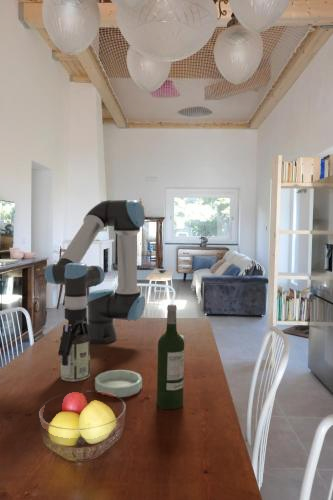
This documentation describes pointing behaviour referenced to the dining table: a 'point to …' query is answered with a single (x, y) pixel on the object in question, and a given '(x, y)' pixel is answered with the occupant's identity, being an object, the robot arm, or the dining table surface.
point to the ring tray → (119, 382)
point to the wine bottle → (170, 365)
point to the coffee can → (79, 359)
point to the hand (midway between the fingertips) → (75, 367)
